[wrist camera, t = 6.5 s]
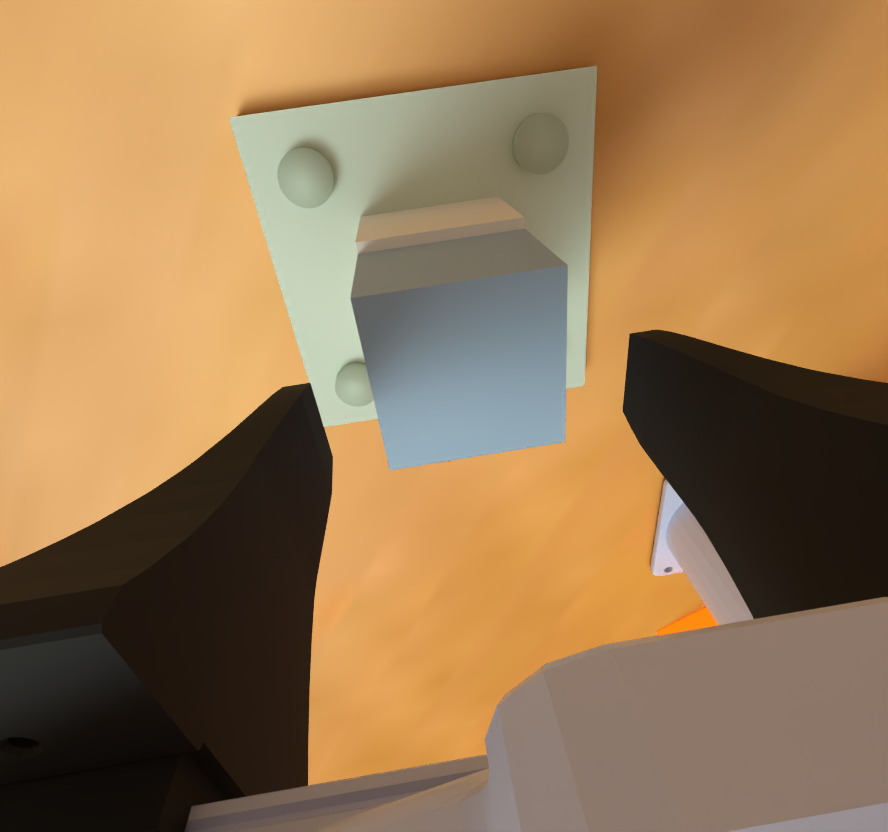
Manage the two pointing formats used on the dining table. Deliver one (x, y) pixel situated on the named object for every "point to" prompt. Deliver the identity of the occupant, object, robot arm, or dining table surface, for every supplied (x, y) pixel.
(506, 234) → the blue block
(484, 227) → the cream block
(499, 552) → the dining table surface
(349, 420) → the baseplate
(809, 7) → the dining table surface
